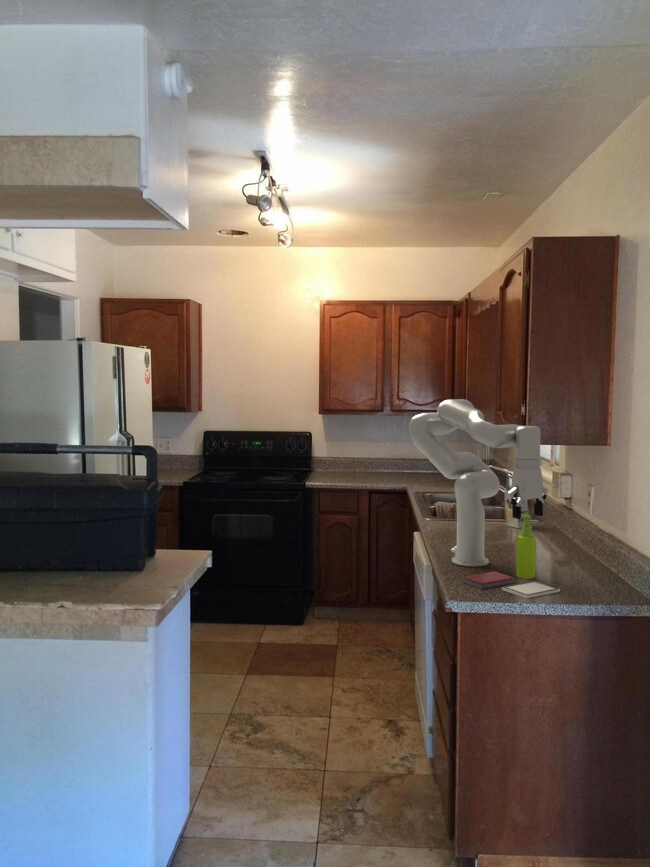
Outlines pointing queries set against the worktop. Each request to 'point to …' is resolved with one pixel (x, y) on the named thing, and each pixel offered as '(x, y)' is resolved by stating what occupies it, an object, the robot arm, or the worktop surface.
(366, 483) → the worktop surface
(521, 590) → the marked card
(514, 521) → the coffee box
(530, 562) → the soap dispenser
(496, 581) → the ink pad
